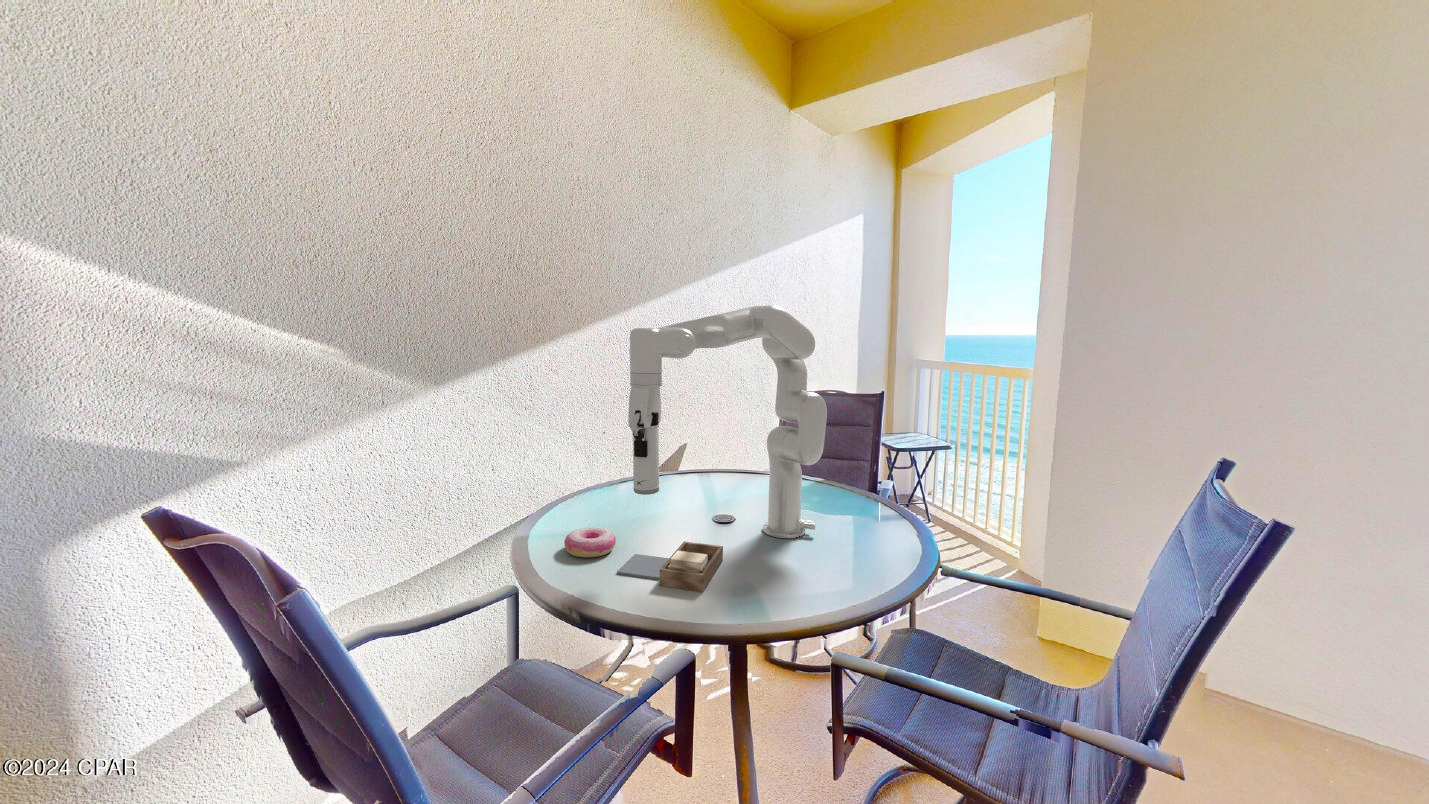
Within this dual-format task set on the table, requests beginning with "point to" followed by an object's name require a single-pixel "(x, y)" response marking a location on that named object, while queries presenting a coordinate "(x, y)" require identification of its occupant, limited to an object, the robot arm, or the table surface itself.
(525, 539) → the table surface
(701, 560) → the maple offcut stack
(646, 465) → the travel mug
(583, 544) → the donut
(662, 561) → the slate mat
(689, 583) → the wooden tray
